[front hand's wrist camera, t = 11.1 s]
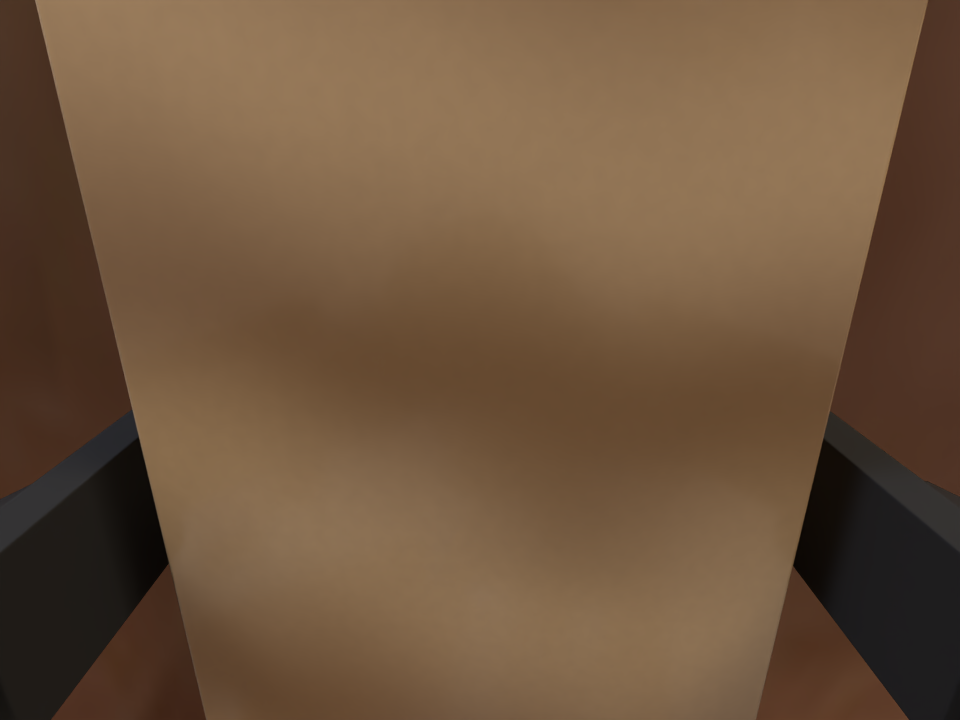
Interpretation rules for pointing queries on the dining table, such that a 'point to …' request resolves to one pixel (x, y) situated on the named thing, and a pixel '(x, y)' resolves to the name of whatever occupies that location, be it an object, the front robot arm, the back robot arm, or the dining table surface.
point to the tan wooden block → (481, 331)
